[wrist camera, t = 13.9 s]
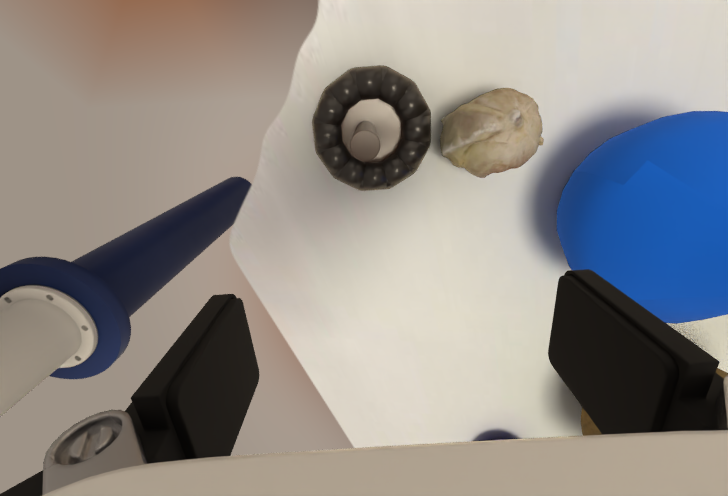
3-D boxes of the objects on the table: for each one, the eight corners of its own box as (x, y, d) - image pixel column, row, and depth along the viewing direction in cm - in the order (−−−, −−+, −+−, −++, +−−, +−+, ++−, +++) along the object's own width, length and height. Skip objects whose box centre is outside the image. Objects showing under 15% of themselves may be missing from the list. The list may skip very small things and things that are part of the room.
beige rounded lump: (432, 142, 40) (411, 153, 31) (478, 68, 36) (468, 56, 27) (504, 188, 39) (502, 212, 30) (559, 117, 35) (576, 121, 26)
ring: (322, 190, 39) (318, 196, 36) (308, 72, 34) (303, 70, 32) (428, 183, 38) (432, 188, 36) (428, 63, 34) (433, 59, 31)
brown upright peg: (332, 171, 39) (312, 208, 25) (324, 92, 36) (296, 84, 22) (404, 166, 38) (426, 200, 25) (402, 85, 35) (425, 74, 22)
